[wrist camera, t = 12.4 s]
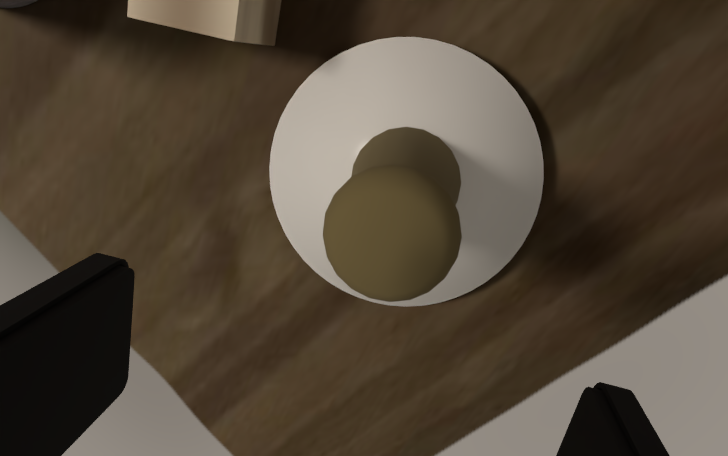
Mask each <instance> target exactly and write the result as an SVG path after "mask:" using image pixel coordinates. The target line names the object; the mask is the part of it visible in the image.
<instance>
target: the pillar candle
mask: <svg viewBox="0 0 728 456" xmlns="http://www.w3.org/2000/svg"><path fill="white" fill-rule="evenodd" d="M35 1H38V0H0V7H1V8H15V7H22V6H26V5H29V4H31V3H34V2H35Z"/></svg>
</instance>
